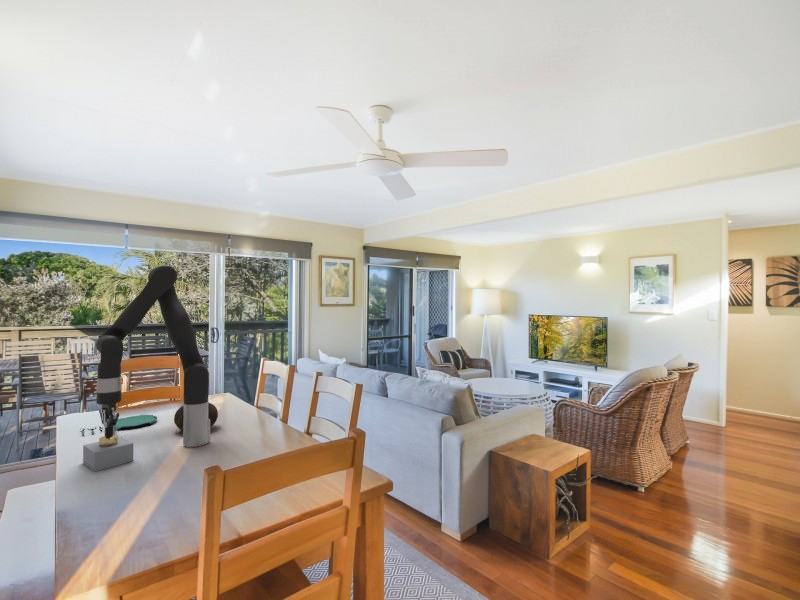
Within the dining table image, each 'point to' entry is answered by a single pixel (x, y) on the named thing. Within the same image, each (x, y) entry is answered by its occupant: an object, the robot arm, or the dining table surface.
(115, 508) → the dining table surface
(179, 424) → the dark brown ellipsoid
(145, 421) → the cutlery set
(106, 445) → the brass knob
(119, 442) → the slate block
